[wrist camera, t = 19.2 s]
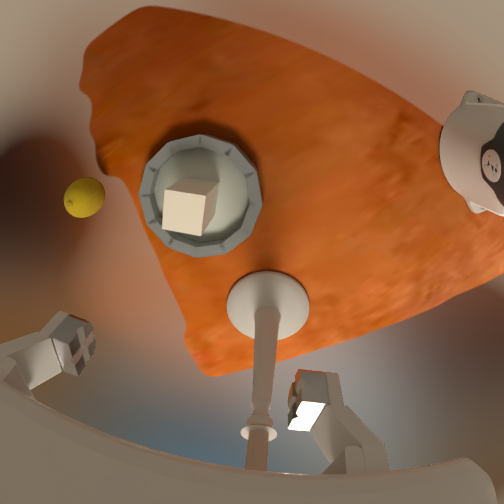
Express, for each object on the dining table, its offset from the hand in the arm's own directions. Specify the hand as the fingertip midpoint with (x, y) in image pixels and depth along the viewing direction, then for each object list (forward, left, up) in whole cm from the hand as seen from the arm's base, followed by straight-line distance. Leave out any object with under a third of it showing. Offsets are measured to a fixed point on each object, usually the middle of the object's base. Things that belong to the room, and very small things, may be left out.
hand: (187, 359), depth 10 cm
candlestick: (+1, +19, -31) cm, 37 cm away
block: (+7, 0, -30) cm, 31 cm away
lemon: (+23, -4, -31) cm, 39 cm away
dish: (+7, 0, -31) cm, 32 cm away
